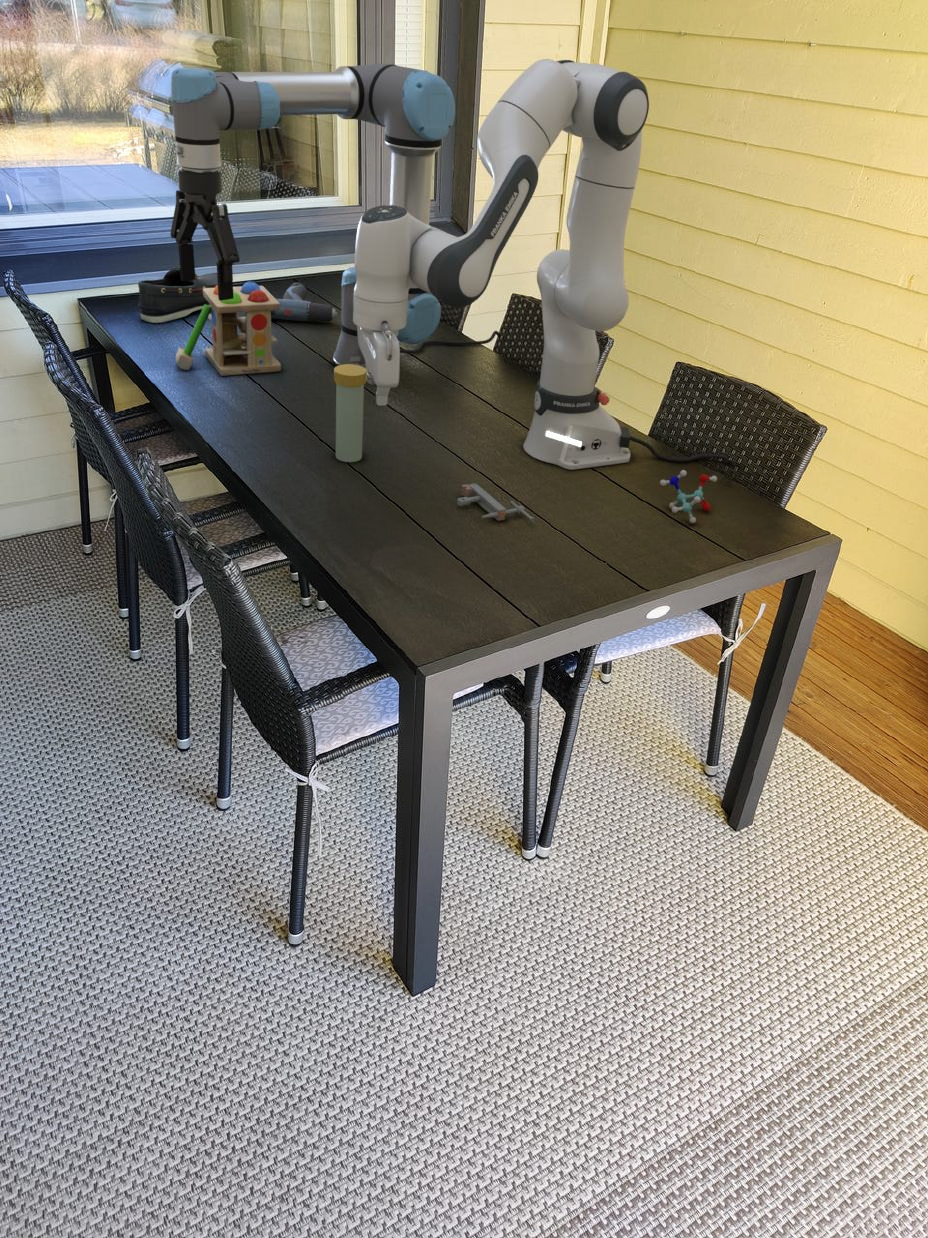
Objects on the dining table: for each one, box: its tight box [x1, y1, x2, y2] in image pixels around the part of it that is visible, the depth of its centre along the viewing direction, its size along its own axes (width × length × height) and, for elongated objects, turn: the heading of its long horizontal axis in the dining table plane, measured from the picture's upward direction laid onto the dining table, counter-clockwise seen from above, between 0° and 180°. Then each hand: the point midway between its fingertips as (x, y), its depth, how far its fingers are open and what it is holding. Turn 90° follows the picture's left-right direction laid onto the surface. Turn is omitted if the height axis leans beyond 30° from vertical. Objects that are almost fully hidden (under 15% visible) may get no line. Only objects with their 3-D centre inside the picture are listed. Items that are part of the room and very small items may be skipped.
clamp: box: [456, 483, 535, 523], centre depth 180 cm, size 15×2×10 cm
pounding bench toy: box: [174, 281, 282, 377], centre depth 225 cm, size 23×14×18 cm, turn 116°
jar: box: [335, 383, 365, 463], centre depth 190 cm, size 5×5×17 cm
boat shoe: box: [137, 266, 218, 324], centre depth 260 cm, size 13×33×10 cm, turn 147°
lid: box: [333, 364, 367, 387], centre depth 186 cm, size 6×6×2 cm
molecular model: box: [659, 469, 718, 524], centre depth 185 cm, size 12×10×10 cm
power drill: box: [271, 282, 338, 322], centre depth 265 cm, size 5×19×20 cm
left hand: (206, 289), depth 186 cm, fingers open, 13 cm apart
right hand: (376, 393), depth 168 cm, fingers open, 8 cm apart
